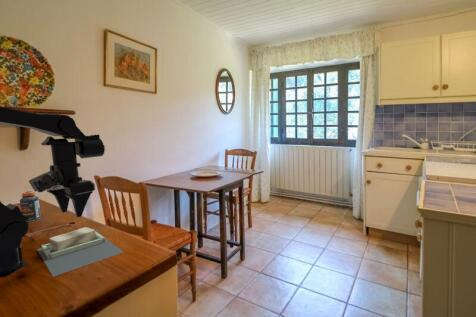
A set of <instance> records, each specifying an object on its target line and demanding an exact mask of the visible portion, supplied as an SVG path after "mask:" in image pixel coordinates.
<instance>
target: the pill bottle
mask: <svg viewBox="0 0 476 317" xmlns="http://www.w3.org/2000/svg"><path fill="white" fill-rule="evenodd" d="M35 192H36V191H34V190H28V191H24V192H22V193H21V198H20V199H19V205H20V211H21V213H22V214H23V215H24V216H25V217H27V218H29V219H28V220H26V221H27V223H29V222H34V221H38V220H40V219H41V218H42V215H41V208H40V200H39V196H37V195H36V193H35Z"/></svg>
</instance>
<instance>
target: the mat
mask: <svg viewBox="0 0 476 317" xmlns="http://www.w3.org/2000/svg"><path fill="white" fill-rule="evenodd" d="M96 240H97V238H96ZM36 250H37V252H38V254H39V255H40V257H41V259H42V261H43V262H44V264H45V265H46V267H47V269H48V270H49V272H50V274H51V276H52V277H53V278H54V277H56V276H60V275H62V274H66V273H69V272H71V271H74V270H78V269H81V268H83V267H85V266H88V265H91V264H96V263H98V262H100V261H103V260H105V259H108V258H112V257H115V256H118V255H120V254H123V253H124V250H122V249H121V248H119V247H118V246H116V245H115V244H114V243H112V242H111V241H109V240H108V239H107V238H105V242H104V243H100V244H97V245H94V246H91V247H87V248H84V249H81V250H77V251H74V252H71V253H68V254H64V255H61V256H58V257H55V258H51V259H48V258H47V257H46V255H45V253H44V252H43V250H42V247H40V248H37V249H36ZM48 250H49V251H50V253H53V251H51V249H50V248H49V249H48Z"/></svg>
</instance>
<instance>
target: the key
mask: <svg viewBox="0 0 476 317" xmlns="http://www.w3.org/2000/svg"><path fill="white" fill-rule="evenodd" d="M71 223H72V225H71ZM74 225H75V226H77V222H75V221H70V222H68V223H66V224H63V225H58V226H54V227H51V228H46V229H45V228H44V229H41V230H38V231H34V232H28V233H26V234H25V235H24V237H28V238H30V237H34V236H39V235H42V233H43V232H47V231H52V230H57V229H60V228H64V227H69V228H70V227H74Z"/></svg>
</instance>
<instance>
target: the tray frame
mask: <svg viewBox="0 0 476 317" xmlns="http://www.w3.org/2000/svg"><path fill="white" fill-rule="evenodd" d="M95 233H96V238H97V240H93V241H90V242H87V243H83V244H80V245H76V246H73V247H70V248H66V249H63V250H59V251H56V252H53V253H50V251H49V250H48V249H49V248H50V242H49V243H46V244H42V245H41V248H42V250H43V252H44V253H45V255H46V257H47V258H48V259H51V258H55V257H58V256H61V255H64V254H68V253H71V252H74V251H77V250H81V249H84V248H87V247H91V246H94V245H97V244H100V243H104V242H105V239H106V238H105V237H104V236H103V235H102V234H100V233H99V232H97V231H96V230H95Z"/></svg>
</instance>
